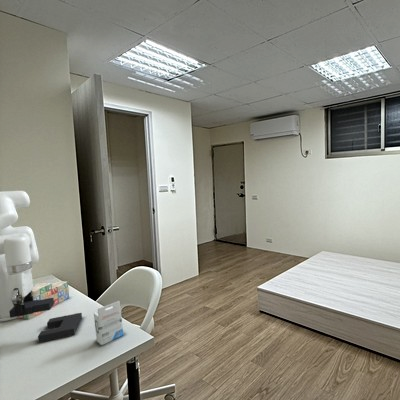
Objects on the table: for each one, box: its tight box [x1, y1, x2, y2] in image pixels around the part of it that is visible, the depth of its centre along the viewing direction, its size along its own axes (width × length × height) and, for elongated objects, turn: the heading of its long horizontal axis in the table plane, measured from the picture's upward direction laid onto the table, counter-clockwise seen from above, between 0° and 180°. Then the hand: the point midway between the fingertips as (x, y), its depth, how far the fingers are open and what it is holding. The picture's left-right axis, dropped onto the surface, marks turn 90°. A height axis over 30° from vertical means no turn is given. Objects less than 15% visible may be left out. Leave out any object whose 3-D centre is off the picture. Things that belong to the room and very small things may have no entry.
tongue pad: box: [9, 298, 55, 318], centre depth 108 cm, size 12×7×3 cm, turn 112°
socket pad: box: [37, 312, 83, 344], centre depth 113 cm, size 12×14×3 cm
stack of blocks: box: [17, 280, 70, 320], centre depth 133 cm, size 21×6×12 cm, turn 168°
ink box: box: [93, 300, 124, 346], centre depth 105 cm, size 8×5×15 cm, turn 140°
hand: (24, 309), depth 107 cm, fingers closed on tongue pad, 7 cm apart
